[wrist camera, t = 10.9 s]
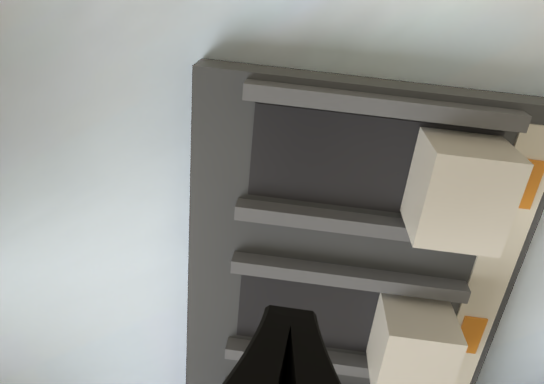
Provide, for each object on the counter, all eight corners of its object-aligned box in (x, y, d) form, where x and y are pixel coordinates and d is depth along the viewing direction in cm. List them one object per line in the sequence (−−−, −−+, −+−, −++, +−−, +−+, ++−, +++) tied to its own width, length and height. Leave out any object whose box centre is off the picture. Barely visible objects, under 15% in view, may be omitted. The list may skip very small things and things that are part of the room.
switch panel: (191, 422, 28) (181, 459, 26) (201, 58, 19) (187, 69, 17) (430, 457, 27) (440, 497, 25) (562, 99, 18) (594, 116, 16)
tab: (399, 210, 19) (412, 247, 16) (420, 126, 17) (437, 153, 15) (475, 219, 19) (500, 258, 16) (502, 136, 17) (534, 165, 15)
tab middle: (366, 350, 22) (372, 399, 20) (380, 290, 21) (389, 335, 18) (430, 359, 22) (444, 409, 20) (449, 299, 21) (468, 346, 18)
